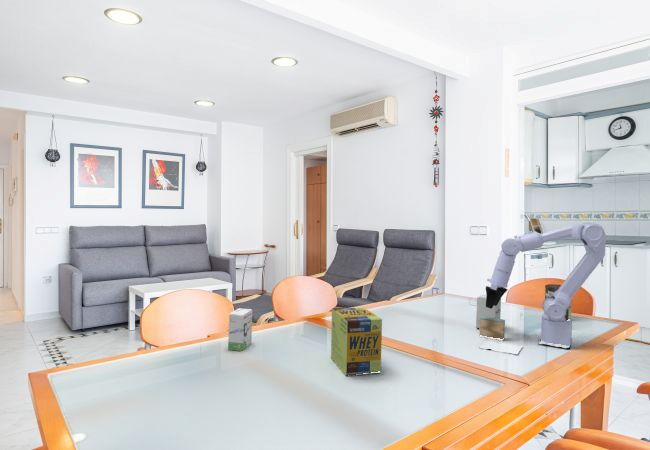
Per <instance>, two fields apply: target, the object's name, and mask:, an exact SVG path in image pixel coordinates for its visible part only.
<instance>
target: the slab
mask: <svg viewBox="0 0 650 450" xmlns="http://www.w3.org/2000/svg"><path fill="white" fill-rule="evenodd" d="M480 335H482V336H487V337H493V338H500V339H503V338H504V337H505V335H506V319H501V318H500V319H496V318H489V317H481V318H480V329H479V336H480Z"/></svg>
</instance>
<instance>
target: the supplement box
mask: <svg viewBox="0 0 650 450" xmlns="http://www.w3.org/2000/svg"><path fill="white" fill-rule="evenodd" d="M486 296H487V295H486V294H481V295H479V296H477V297H476V313H475V314H476V315H475V317H476V319H475V329H476V328H479V329H478V330H480V318H481V317H489V318H496V319H501V309H502V307H501V305H502V298H501V299H500V301H499V303H498V304H497V306H493V308H492V309H490V308H488V307H486Z"/></svg>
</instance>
